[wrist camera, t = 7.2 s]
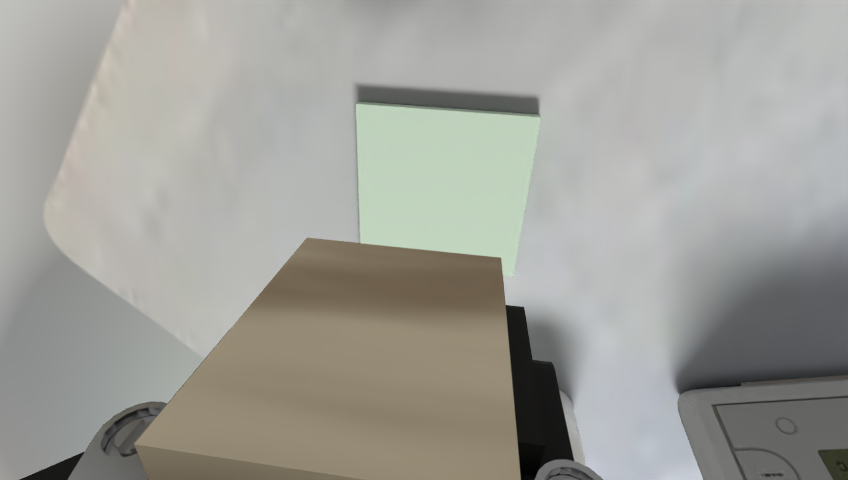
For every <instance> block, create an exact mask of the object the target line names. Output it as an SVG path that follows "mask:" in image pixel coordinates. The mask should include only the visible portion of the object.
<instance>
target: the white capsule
mask: <svg viewBox="0 0 848 480" xmlns="http://www.w3.org/2000/svg"><path fill="white" fill-rule="evenodd" d="M559 392H560V397H561V401H562V406H563V410H564V415H565V420H566V424H567V429H568V434H569V438H570V443H571V447H572V452H573V457H574V461H575V462H579V463H580V464H582V465H584V466H586V467H587V465H586V461H585V457H584V452H583V448H582V443H581V439H580V435H579V430H578V426H577V421H576V417H575V413H574V408H573V404H572V402H571V400H570V398H569V397H568V396H567V395H566V394H565V393H564V392H562V391H561V390H559Z"/></svg>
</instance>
